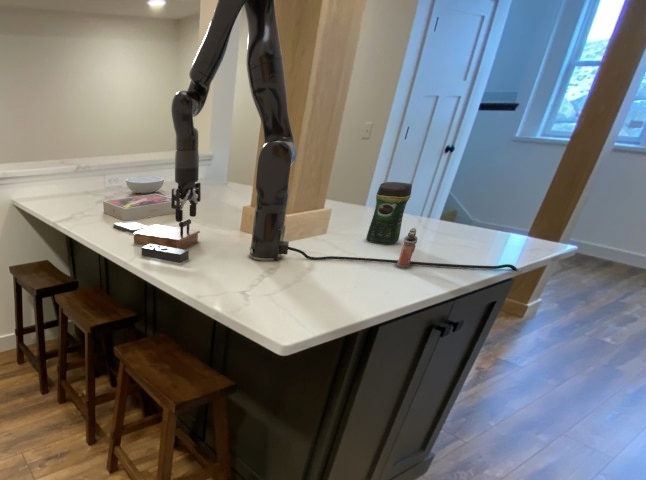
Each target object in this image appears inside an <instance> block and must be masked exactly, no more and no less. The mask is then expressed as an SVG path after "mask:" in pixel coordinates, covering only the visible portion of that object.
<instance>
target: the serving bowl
mask: <svg viewBox="0 0 646 480" xmlns="http://www.w3.org/2000/svg"><path fill="white" fill-rule="evenodd" d="M164 181H165V178H164V177H161V176H155V175H142V176H141V175H140V176H132V177H128V178H126V179H125V183H126V186H127V188H128V189H129V190H130V191H131V192H134V193H137V194H139V195H149V194H154V193H155V192H158V191H159V190H161V189H162V187H163V185H164Z"/></svg>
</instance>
